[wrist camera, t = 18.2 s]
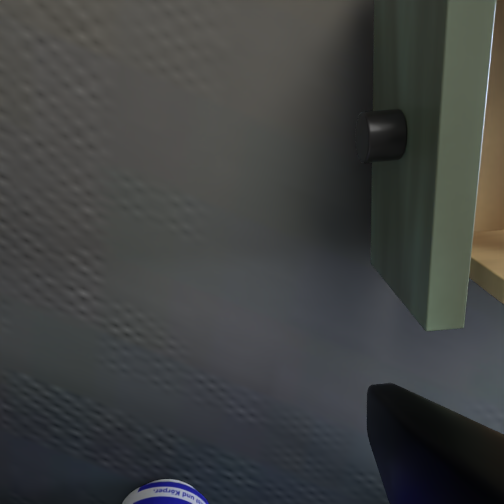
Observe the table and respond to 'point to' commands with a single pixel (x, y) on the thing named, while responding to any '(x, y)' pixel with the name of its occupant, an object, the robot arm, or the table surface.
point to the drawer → (437, 153)
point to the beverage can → (165, 493)
